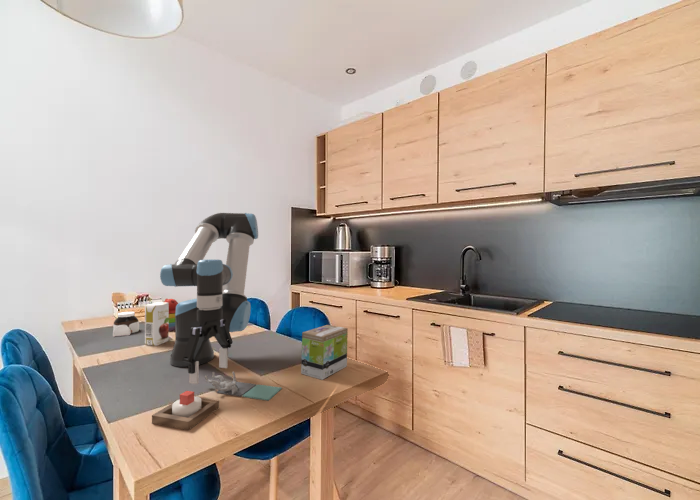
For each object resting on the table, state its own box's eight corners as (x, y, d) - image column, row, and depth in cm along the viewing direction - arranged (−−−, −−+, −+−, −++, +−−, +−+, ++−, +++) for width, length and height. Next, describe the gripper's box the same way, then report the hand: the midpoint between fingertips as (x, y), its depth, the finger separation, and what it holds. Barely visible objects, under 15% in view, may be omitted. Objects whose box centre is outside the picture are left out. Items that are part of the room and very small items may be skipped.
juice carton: (141, 348, 138) (141, 304, 138) (156, 342, 146) (156, 301, 146) (157, 349, 137) (157, 305, 137) (171, 343, 145) (171, 302, 145)
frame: (151, 423, 79) (151, 415, 79) (185, 402, 89) (185, 395, 89) (188, 430, 76) (188, 421, 76) (219, 408, 86) (219, 400, 86)
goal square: (242, 396, 93) (242, 395, 93) (257, 385, 101) (257, 384, 101) (268, 400, 91) (268, 399, 91) (281, 388, 99) (281, 387, 99)
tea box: (323, 381, 105) (323, 336, 105) (300, 374, 110) (300, 332, 110) (348, 366, 118) (348, 326, 117) (326, 361, 123) (326, 323, 123)
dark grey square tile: (216, 393, 96) (216, 391, 96) (233, 382, 103) (233, 381, 103) (241, 396, 93) (241, 395, 93) (256, 385, 101) (256, 384, 101)
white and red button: (165, 419, 80) (165, 397, 80) (186, 406, 87) (186, 386, 87) (187, 423, 78) (187, 400, 78) (207, 410, 85) (207, 389, 85)
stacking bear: (186, 332, 164) (186, 298, 164) (166, 337, 156) (166, 301, 156) (174, 329, 170) (174, 296, 170) (154, 334, 161) (154, 299, 161)
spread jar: (134, 333, 163) (134, 310, 163) (144, 336, 156) (144, 313, 156) (106, 338, 153) (106, 314, 153) (115, 342, 147) (115, 317, 147)
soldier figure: (221, 367, 104) (245, 371, 97) (224, 381, 104) (247, 386, 97) (199, 378, 97) (222, 383, 91) (202, 393, 98) (225, 400, 91)
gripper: (190, 316, 88) (189, 393, 88) (243, 302, 112) (242, 362, 112) (168, 314, 90) (168, 389, 90) (225, 301, 114) (224, 360, 114)
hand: (209, 375), depth 101 cm, fingers open, 13 cm apart
